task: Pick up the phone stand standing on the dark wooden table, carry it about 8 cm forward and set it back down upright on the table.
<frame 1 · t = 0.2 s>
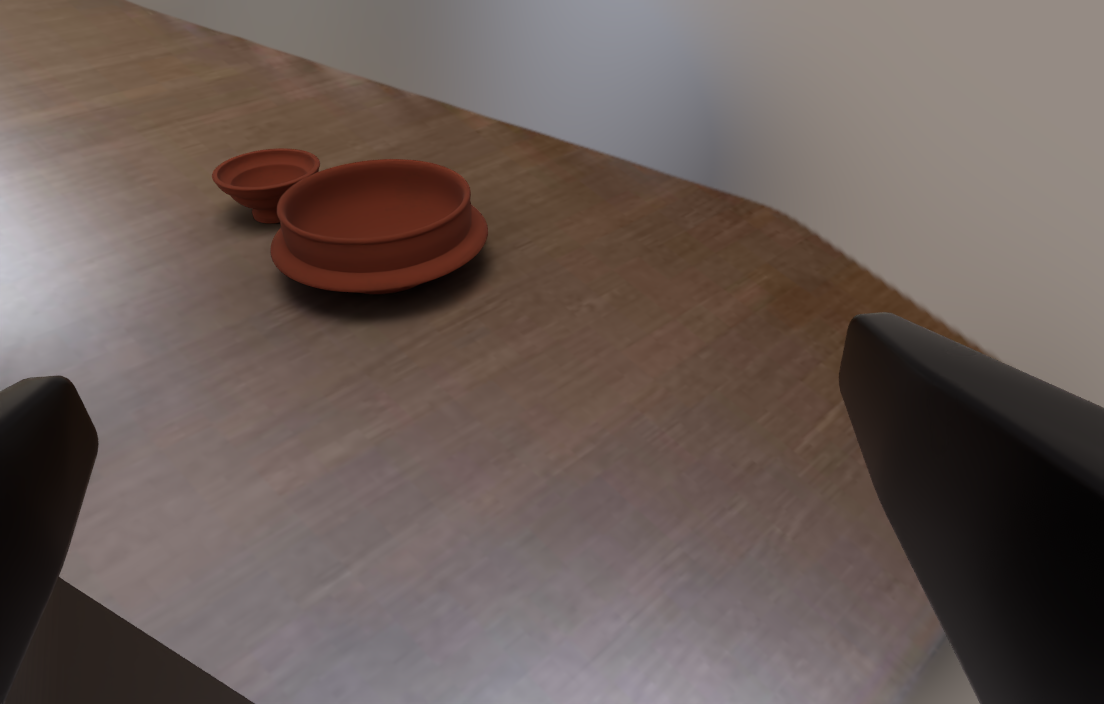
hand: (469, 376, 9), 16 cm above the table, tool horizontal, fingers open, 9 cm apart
pottery: (342, 248, 46), on the table
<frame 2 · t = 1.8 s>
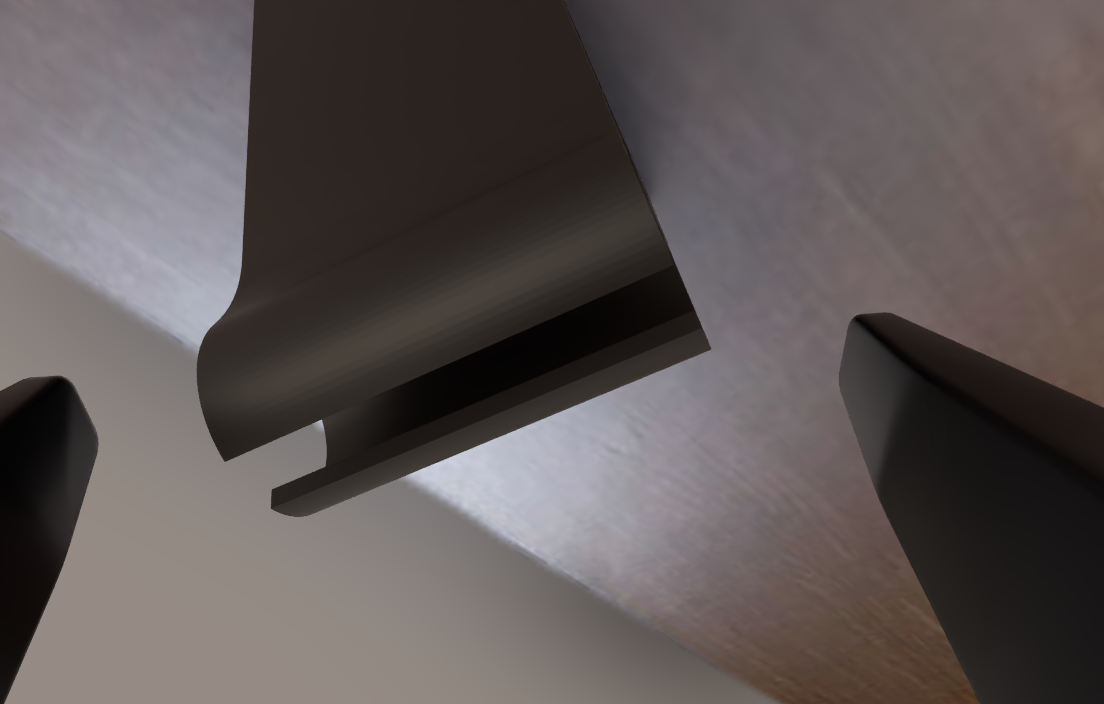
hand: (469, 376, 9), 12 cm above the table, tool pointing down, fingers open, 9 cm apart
phone stand: (474, 99, 19), on the table
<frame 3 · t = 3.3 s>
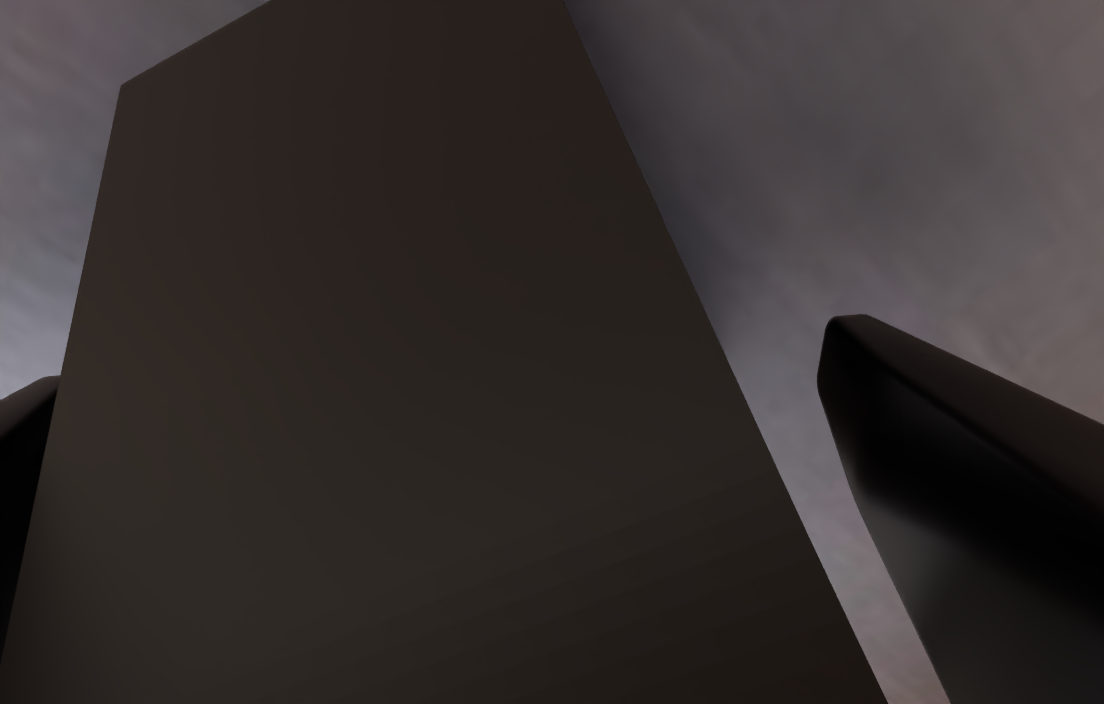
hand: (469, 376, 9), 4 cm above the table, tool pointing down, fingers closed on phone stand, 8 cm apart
phone stand: (466, 237, 13), on the table, touching gripper
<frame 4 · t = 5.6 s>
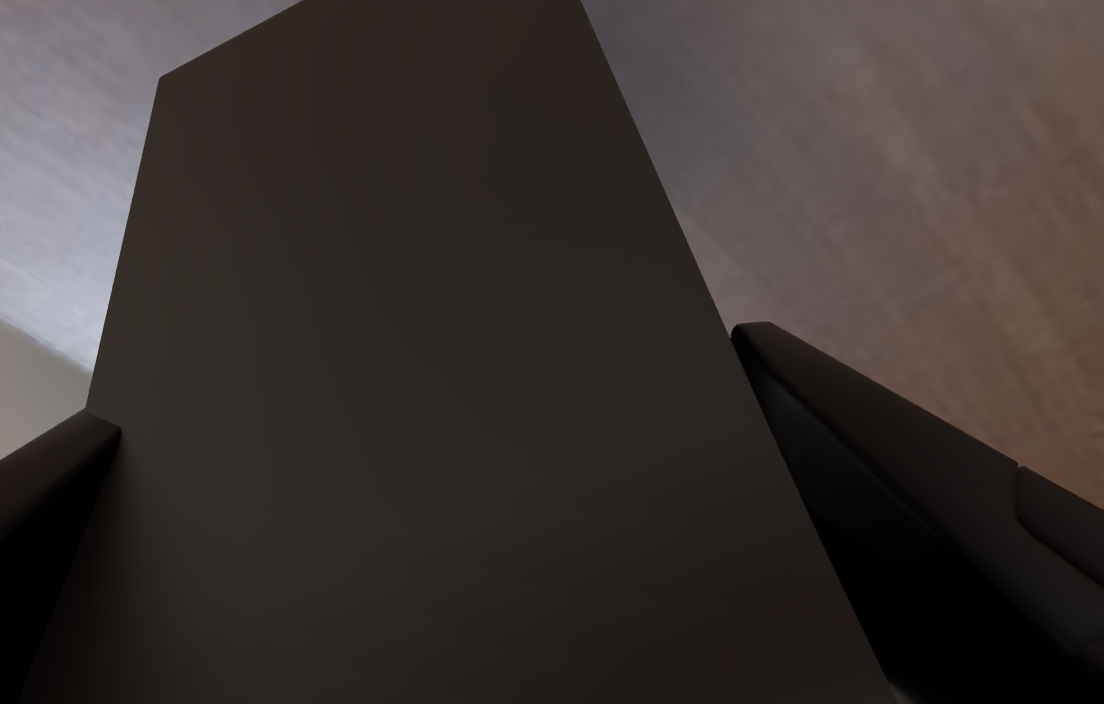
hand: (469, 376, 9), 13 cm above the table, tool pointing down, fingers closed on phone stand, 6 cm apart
phone stand: (483, 233, 14), point 8 cm above the table, touching gripper
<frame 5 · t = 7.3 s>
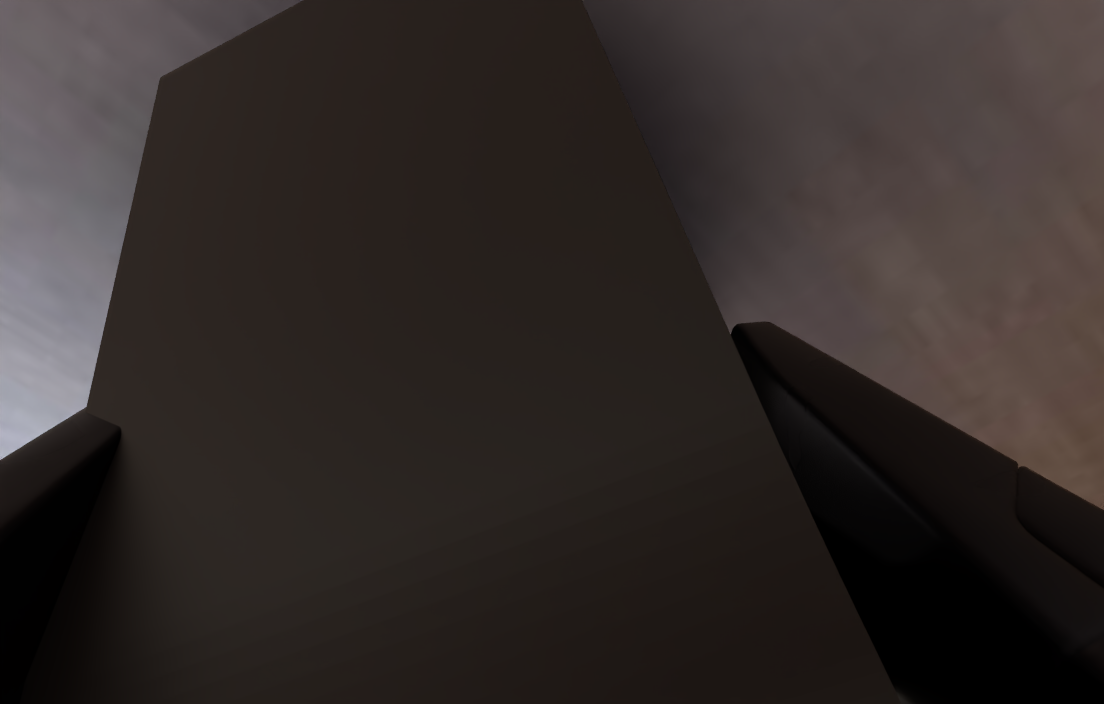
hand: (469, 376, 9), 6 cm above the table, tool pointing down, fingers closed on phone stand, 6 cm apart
phone stand: (483, 233, 14), point 1 cm above the table, touching gripper
when the fingers open (5 cm above the table, at t = 8.3 s): phone stand stays where it is, on the table.
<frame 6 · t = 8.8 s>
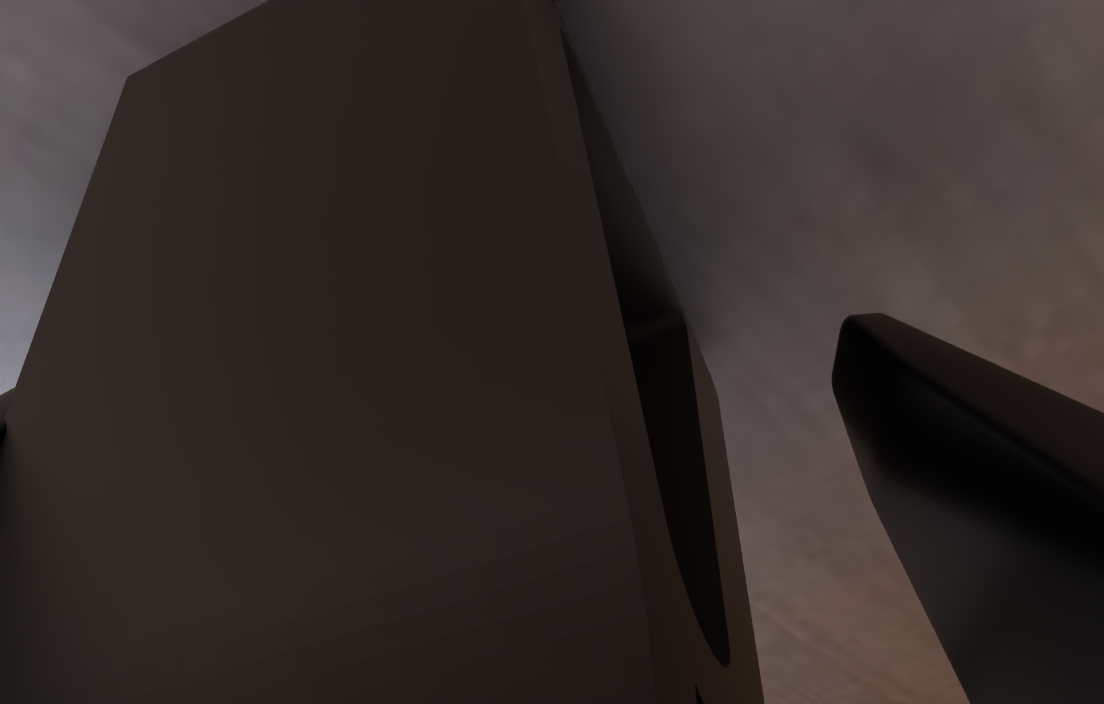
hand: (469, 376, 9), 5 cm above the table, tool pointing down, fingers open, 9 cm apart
phone stand: (463, 240, 13), on the table, touching gripper
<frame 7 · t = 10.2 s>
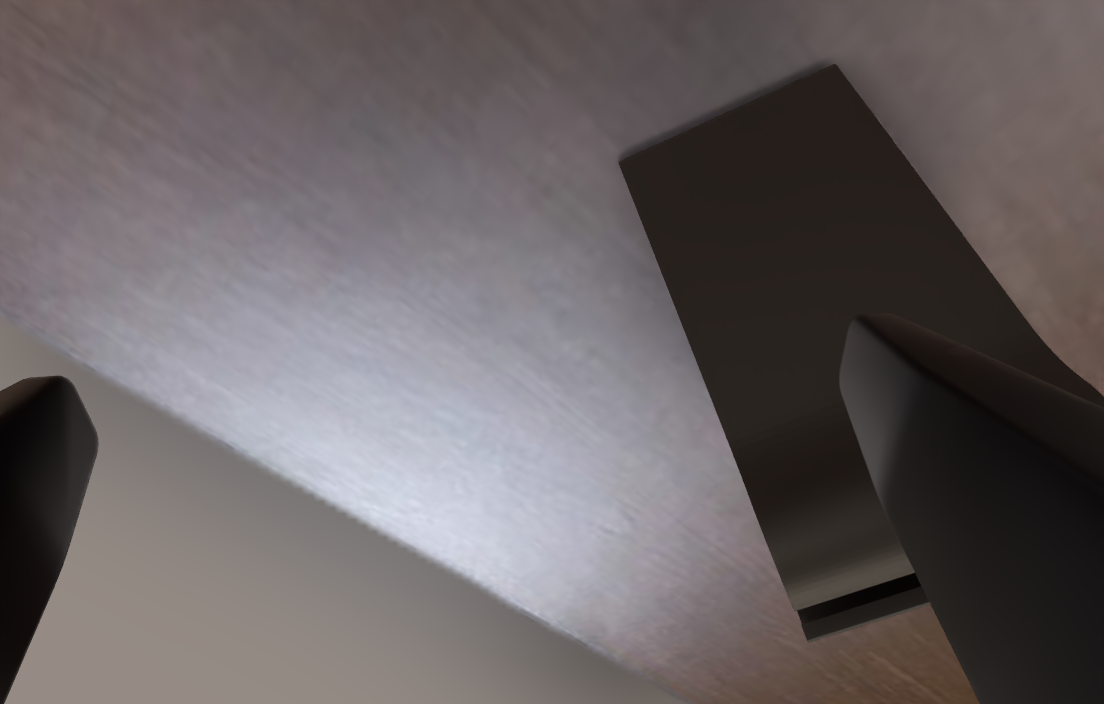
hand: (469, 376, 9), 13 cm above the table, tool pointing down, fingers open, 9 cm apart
phone stand: (764, 245, 23), on the table
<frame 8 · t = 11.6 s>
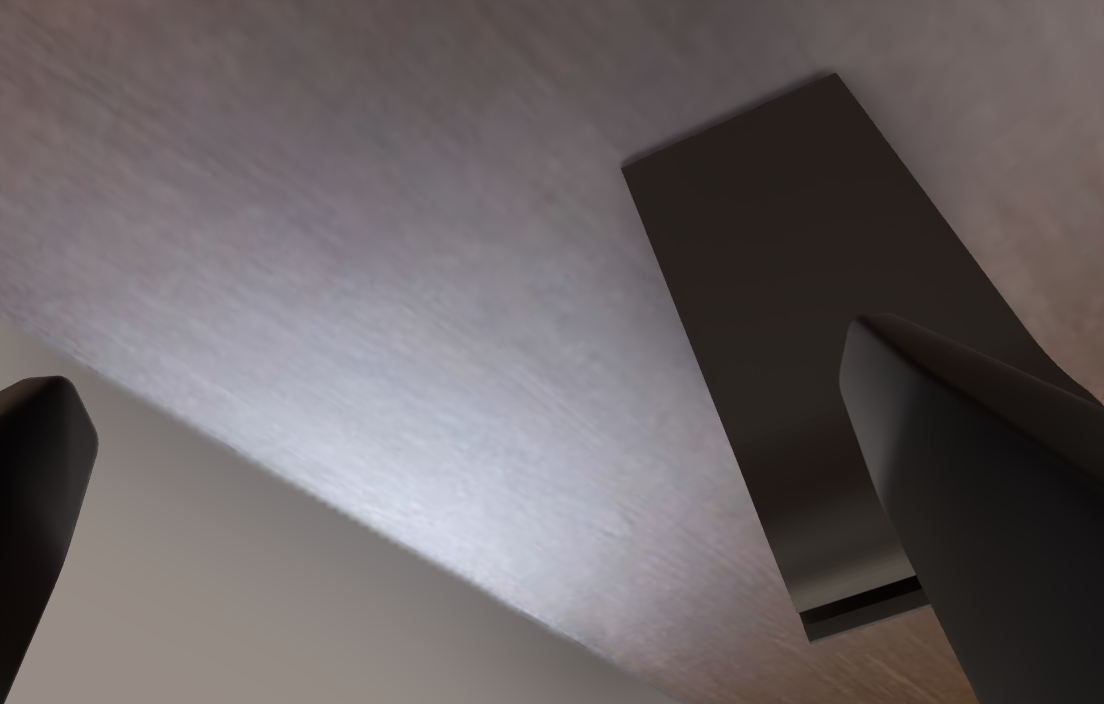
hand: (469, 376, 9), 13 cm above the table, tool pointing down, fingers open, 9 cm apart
phone stand: (764, 250, 23), on the table
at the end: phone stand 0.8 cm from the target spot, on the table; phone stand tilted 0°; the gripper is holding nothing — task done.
